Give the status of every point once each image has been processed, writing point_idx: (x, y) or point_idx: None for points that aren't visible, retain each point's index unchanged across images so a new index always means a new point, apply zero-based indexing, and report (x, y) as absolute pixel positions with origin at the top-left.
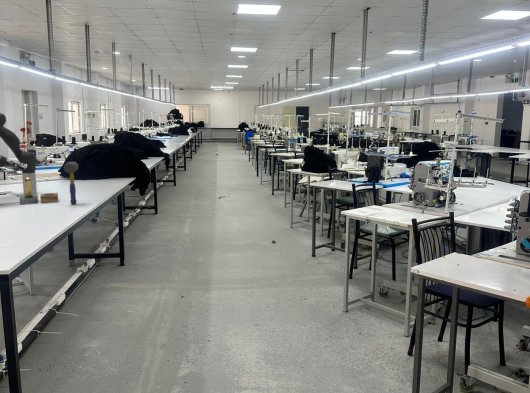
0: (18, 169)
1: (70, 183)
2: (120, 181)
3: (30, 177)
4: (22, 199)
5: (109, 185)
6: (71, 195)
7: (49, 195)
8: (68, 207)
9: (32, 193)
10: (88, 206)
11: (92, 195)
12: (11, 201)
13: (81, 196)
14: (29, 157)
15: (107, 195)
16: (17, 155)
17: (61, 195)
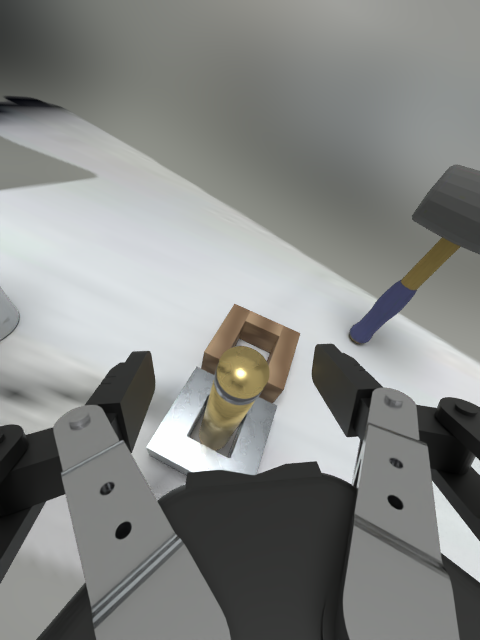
0: (150, 365)
1: (414, 289)
2: (86, 132)
3: (255, 350)
4: None
5: (116, 161)
6: (382, 324)
7: (281, 352)
8: (405, 374)
9: (10, 323)
10: (406, 331)
11: (234, 244)
12: None
13: (227, 262)
14: None
15: (261, 232)
16: None
17: (153, 278)
